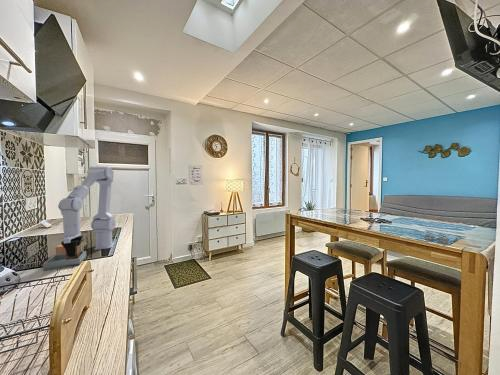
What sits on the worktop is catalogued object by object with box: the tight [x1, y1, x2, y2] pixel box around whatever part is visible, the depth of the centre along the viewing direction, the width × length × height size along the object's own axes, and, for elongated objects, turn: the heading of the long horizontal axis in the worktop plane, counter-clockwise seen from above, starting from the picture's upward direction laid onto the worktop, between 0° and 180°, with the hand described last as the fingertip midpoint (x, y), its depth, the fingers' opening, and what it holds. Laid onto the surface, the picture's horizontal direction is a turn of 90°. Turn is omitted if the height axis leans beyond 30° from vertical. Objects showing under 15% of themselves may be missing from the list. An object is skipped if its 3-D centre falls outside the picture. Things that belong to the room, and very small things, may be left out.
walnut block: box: [66, 244, 81, 260], centre depth 94 cm, size 4×4×5 cm
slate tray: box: [42, 250, 87, 272], centre depth 93 cm, size 11×12×3 cm
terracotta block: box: [55, 244, 66, 255], centre depth 103 cm, size 4×4×5 cm
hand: (73, 254), depth 94 cm, fingers open, 4 cm apart
